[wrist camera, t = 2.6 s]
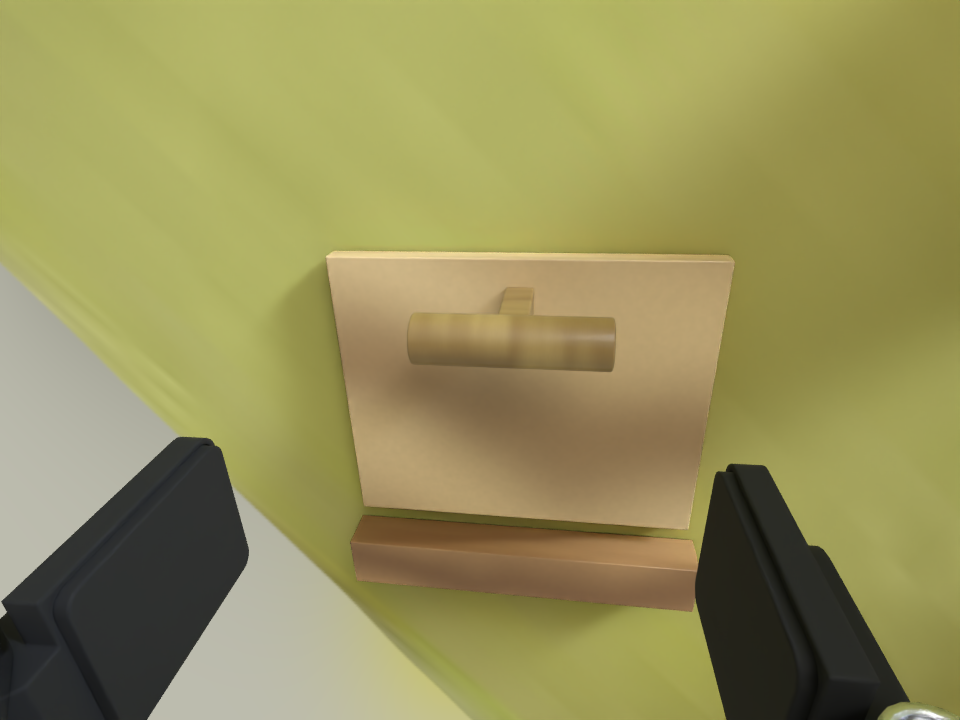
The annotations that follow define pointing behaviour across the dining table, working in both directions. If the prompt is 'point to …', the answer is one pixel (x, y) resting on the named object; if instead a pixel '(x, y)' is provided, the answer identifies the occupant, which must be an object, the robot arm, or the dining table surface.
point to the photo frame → (531, 380)
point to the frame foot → (527, 562)
